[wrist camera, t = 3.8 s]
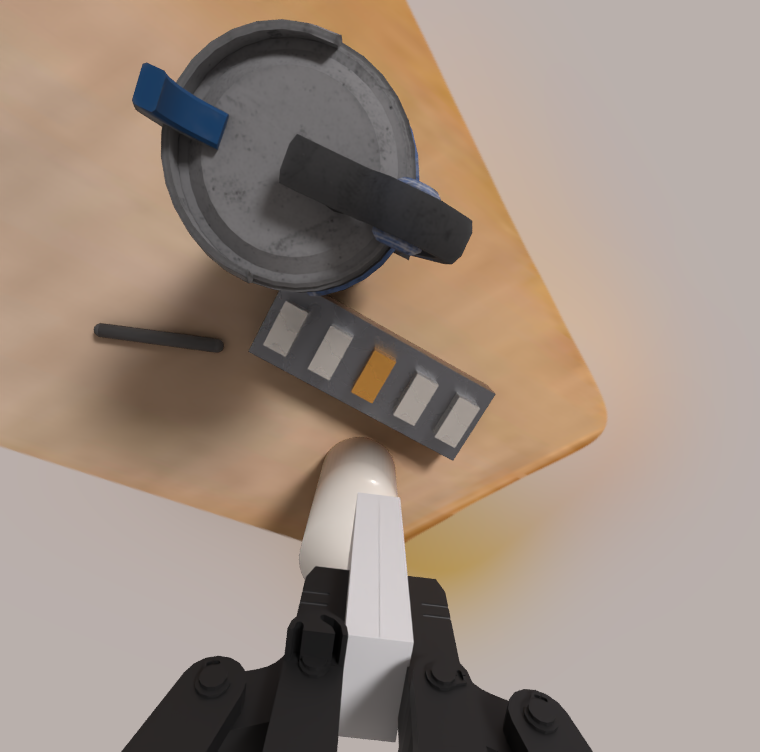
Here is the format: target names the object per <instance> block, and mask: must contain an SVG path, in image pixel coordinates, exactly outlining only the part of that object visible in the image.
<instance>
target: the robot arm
mask: <svg viewBox="0 0 760 752" xmlns="http://www.w3.org/2000/svg"><path fill="white" fill-rule="evenodd" d="M397 730H398V735H399V750H398V752H592V750H591V748H590V747H589V745H588V744H587V742H586V741H585V739H584V738H583V737H582V735H581V733H580V732H579V730H578V729H577V727H576V726H575V724H574V723H573V721H572V720H571V718H570V717H569V715H568V714H567V712H566V711H565V710H564V709H563V708H562V707H561V705H560V704H559V703H558V702H556V701H555V700H554V699H552V698H551V697H549V696H548V695H546V694H544V693H541V692H539V691H536V690H528V689H523V690H520V691H517V692H515V693H514V694H513V695H512V696H511V698H510V699H509V701H507V700H504V699H502V698H500V697H497V696H495V695H492V694H490V693H488V692H486V691H484V690H482V689H480V688H479V687H478V686H476V685H475V684H474V683H473V682H472V681H471V679H470V676H469V674H468V672H467V670H466V669H465V668H464V667H463V666H462V665H461V664H460V662H459V657H458V653H457V648H456V643H455V638H454V633H453V629H452V623H451V620H450V613H449V609H448V604H447V599H446V594H445V591H444V590H443V589H442V587H441V586H440V584H439V583H438V582H437V580H436V579H429V578H420V577H412V576H407V566H406V555H405V545H404V534H403V524H402V513H401V502H400V498H399V497H391V496H383V495H375V494H367V493H360V492H358V494H357V501H356V508H355V515H354V522H353V529H352V536H351V543H350V551H349V558H348V566H347V570H344V569H336V568H327V567H319V566H315V567H314V568H313V569H312V571H311V572H310V573H309V574H308V575H307V576H306V578H305V583H304V587H303V592H302V596H301V600H300V604H299V609H298V613H297V617H295V618H294V619H293V620H292V621H291V623H290V625H289V627H288V630H287V638H286V647H285V655H284V656H283V657H282V658H281V659H280V660H278V661H277V662H276V663H274V664H272V665H270V666H268V667H264V668H260V669H256V670H250V671H245V670H244V669H243V667H242V666H241V664H240V663H239V662H237V661H235V660H233V659H232V658H229V657H222V656H216V657H208V658H205V659H202V660H200V661H198V662H196V663H194V664H193V665H192V666H191V667H190V668H188V669H187V670H186V671H185V672H184V673H183V675H182V676H181V677H180V678H179V680H178V681H177V682H176V683H175V685H174V686H173V687H172V689H171V690H170V691H169V692H168V694H167V695H166V696H165V697H164V699H163V700H162V701H161V702H160V704H159V705H158V706H157V707H156V709H155V710H154V711H153V712H152V714H151V715H150V716H149V717H148V719H147V720H146V721H145V723H144V724H143V725H142V726H141V728H140V729H139V730H138V731H137V733H136V734H135V735H134V736H133V738H132V739H131V740H130V742H129V743H128V744H127V745H126V746H125V748H124V749H123V750H122V752H337V745H338V736H343V737H351V738H360V739H370V740H379V741H388V742H395V741H396V735H397Z"/></svg>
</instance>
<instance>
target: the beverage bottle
mask: <svg viewBox="0 0 760 752" xmlns="http://www.w3.org/2000/svg"><path fill="white" fill-rule="evenodd" d="M132 101H133V104H134V107H135V109H136V110H137V111H138V112H140V113H141V114H143V115H145V116H146V117H148V118H149V119H151V120H152V121H154V122H156V123H157V124H159V125H160V126H162V134H161V159H162V165H163V171H164V177H165V183H166V186H167V189H168V191H169V194H170V197H171V200H172V203H173V205H174V208H175V210H176V211H177V213H178V215H179V217H180V218H181V220H182V222H183V224H184V225H185V227H186V229H187V230H188V232H189V233H190V235H191V236H192V238H193V239H194V240H195V241H196V242H197V243H198V245H199V246H200V247H201V248H202V249H203V251H204V252H205V253H206V254H207V255H208V256H209V257H210V258H211V259H212V260H214V261H215V262H216V263H217V264H218V265H220V266H221V267H222V268H223V269H224V270H226V271H227V272H229V273H231V274H233V275H234V276H236V277H238V278H240V279H242V280H244V281H246V282H247V283H255V284H258V285H261V286H264V287H268V288H271V289H274V290H282V291H290V292H298V293H304V292H306V293H307V294H308V295H309V296H321V295H327V294H330V293H334V292H337V291H341V290H345V289H347V288H349V287H351V286H353V285H355V284H357V283H358V282H360V281H362V280H364V279H366V278H367V277H368V276H370V275H371V274H372V273H373V272H375V271H376V270H377V269H378V268H380V267H381V266H382V265H383V264H384V263H385V262H386V260H387V259H388V258H389V257H390V256H391V254H392V253H393V252H394V253H396V254H398V255H400V256H402V257H404V258H406V259H408V260H409V257H410V256H415V257H419V258H423V259H427V260H430V261H434V262H438V263H442V264H453V263H454V262H455V261H456V260H457V259H458V258H460V257H461V256H462V254H463V251H464V249H465V247H466V245H467V243H468V241H469V239H470V236H471V234H472V220H470V219H469V218H467V217H466V216H464V215H463V214H461V213H460V212H458V211H457V210H455V209H454V208H452V207H451V206H449V205H447V204H446V203H444V202H443V201H441V199H440V197H439V194H438V192H437V191H435V190H434V189H433V188H431V187H430V186H428V185H426V184H424V183H422V182H420V181H419V165H418V153H417V149H416V145H415V140H414V136H413V132H412V129H411V127H410V124H409V120H408V118H407V116H406V114H405V111H404V109H403V107H402V105H401V102H400V100H399V98H398V96H397V95H396V93H395V92H394V90H393V89H392V87H391V86H390V85H389V83H388V82H387V80H386V79H385V77H384V76H383V75H382V74H381V73H380V72H379V71H378V70H377V69H376V68H375V67H374V66H373V65H372V64H371V63H370V62H369V61H368V60H367V59H366V58H365V57H364V56H362V55H361V54H359V53H358V52H356V51H355V50H353V49H352V48H350V47H348V46H347V45H345V44H344V43H342V35H339V34H337V33H334V32H332V31H329V30H327V29H324V28H322V27H319V26H317V25H313V24H310V23H304V22H297V21H290V20H284V19H280V20H268V21H256V22H253V23H250V24H247V25H244V26H241V27H237V28H234V29H232V30H230V31H228V32H227V33H225V34H223V35H222V36H220V37H218V38H216V39H215V40H213V41H211V42H210V43H209V44H208V45H207V46H206V47H205V48H204V49H202V50H201V51H200V52H199V53H198V54H197V55H196V56H195V57H194V58H193V59H192V60H191V61H190V63H189V64H188V66H187V67H186V69H185V70H184V72H183V73H182V74H181V76H180V77H179V79H178V80H177V82H175V81H173V80H172V79H171V78H170V77H169V76H168V75H167V74H166V73H165V71H164V70H162V69H159V68H157V67H155V66H153V65H151V64H149V63H144V64H143V65H142V68H141V71H140V75H139V78H138V82H137V85H136V88H135V92H134V95H133V99H132Z"/></svg>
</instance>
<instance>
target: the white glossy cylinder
mask: <svg viewBox="0 0 760 752" xmlns="http://www.w3.org/2000/svg"><path fill="white" fill-rule="evenodd" d="M358 492H360V493H367V494H375V495H383V496H391V497H398V493H397V482H396V471H395V464H394V461H393V458H392V456H391V454H390V453H389V452H388V450H387V449H386V448H385V447H384V446H383V445H381V444H380V443H378V442H376V441H374V440H372V439H369V438H363V437H354V438H349V439H345V440H343V441H341V442H339V443H337V444H336V445H335V446H334V447H332V448H331V450H330V451H329V452H328V454H327V455H326V457H325V459H324V462H323V466H322V470H321V473H320V477H319V481H318V485H317V488H316V492H315V496H314V500H313V503H312V507H311V511H310V515H309V519H308V522H307V526H306V530H305V534H304V537H303V541H302V545H301V549H300V554H299V564H300V569H301V573H302V575H303V577H304V579H305V578H306V576H307V575H308V574H309V573H310V572H311V571H312V569H313V568H314V567H315V566H319V567H327V568H336V569H344V570H347V566H348V558H349V551H350V543H351V536H352V529H353V522H354V515H355V508H356V501H357V494H358Z"/></svg>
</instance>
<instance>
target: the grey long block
mask: <svg viewBox="0 0 760 752" xmlns="http://www.w3.org/2000/svg"><path fill="white" fill-rule="evenodd" d="M248 352H250V353H252V354H254V355H256V356H258V357H259V358H261V359H263V360H265V361H267V362H269V363H271V364H273V365H274V366H276V367H278V368H280V369H282V370H284V371H286V372H288V373H289V374H291V375H293V376H295V377H297V378H299V379H301V380H303V381H304V382H306V383H308V384H310V385H312V386H314V387H316V388H318V389H319V390H321V391H323V392H325V393H327V394H329V395H331V396H333V397H334V398H336V399H338V400H340V401H342V402H344V403H346V404H347V405H349V406H351V407H353V408H355V409H357V410H359V411H361V412H362V413H364V414H366V415H368V416H370V417H372V418H374V419H376V420H377V421H379V422H381V423H383V424H385V425H387V426H389V427H391V428H392V429H394V430H396V431H398V432H400V433H402V434H404V435H406V436H407V437H409V438H411V439H413V440H415V441H417V442H419V443H421V444H422V445H424V446H426V447H428V448H430V449H432V450H434V451H436V452H437V453H439V454H441V455H443V456H445V457H447V458H449V459H451V460H452V461H453V460H454V458H455V457H456V455H457V454H458V452H459V451H460V449H461V447H462V446H463V444H464V443H465V441H466V440H467V438H468V437H469V435H470V433H471V432H472V430H473V429H474V427H475V426H476V424H477V422H478V421H479V419H480V418H481V416H482V415H483V413H484V412H485V410H486V408H487V407H488V405H489V404H490V402H491V401H492V399H493V397H494V396H495V393H494V392H493V391H492V390H491V389H490V388H489V386H488V385H486V384H484V383H483V382H481V381H479V380H477V379H475V378H474V377H472V376H470V375H468V374H467V373H465V372H463V371H461V370H459V369H458V368H456V367H454V366H452V365H451V364H449V363H447V362H445V361H443V360H442V359H440V358H438V357H436V356H435V355H433V354H431V353H429V352H427V351H426V350H424V349H422V348H420V347H418V346H417V345H415V344H413V343H411V342H410V341H408V340H406V339H404V338H402V337H401V336H399V335H397V334H395V333H394V332H392V331H390V330H388V329H386V328H385V327H383V326H381V325H379V324H378V323H376V322H374V321H372V320H370V319H369V318H367V317H365V316H363V315H362V314H360V313H358V312H356V311H354V310H353V309H351V308H349V307H347V306H345V305H344V304H342V303H340V302H338V301H337V300H335V299H333V298H331V297H329V296H328V295H321V296H309V295H308V294H307V293H306V292H304V293H298V292H290V291H282V290H279V292H278V294H277V296H276V298H275V300H274V302H273V304H272V306H271V308H270V310H269V312H268V314H267V316H266V318H265V320H264V322H263V324H262V326H261V328H260V330H259V332H258V334H257V336H256V337H255V339H254V341H253V343H252V345H251V347H250V349H249V351H248Z"/></svg>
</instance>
